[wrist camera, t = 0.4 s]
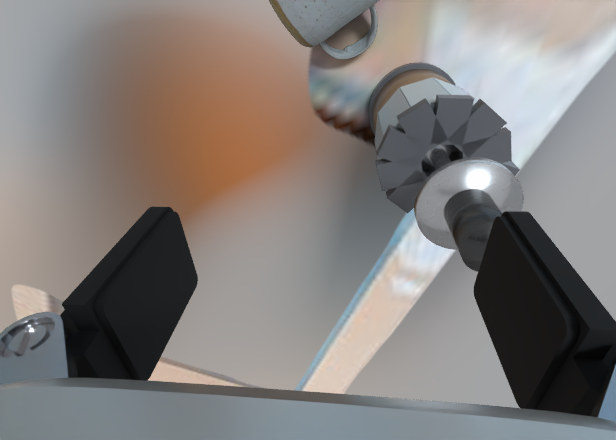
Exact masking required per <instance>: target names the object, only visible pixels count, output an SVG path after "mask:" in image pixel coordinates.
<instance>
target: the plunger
mask: <svg viewBox="0 0 616 440" xmlns="http://www.w3.org/2000/svg"><path fill="white" fill-rule="evenodd" d="M421 165H422V170H423V171H425V172H426V173H427V174H428V175H430V176H428V177H427V179H426V180H425V181H424V182H423V183H422V185H421V186H420V188H419V190H418V192H417V195H416V198H415V203H414V212H415V217H416V220H417V223H418V226H419V228H420V230H421V232H422V233H423V235H424V236H425V237H426V238H427V239H429V240H430V241H431V242H433V243H435V244H436V245H439V246H441V247H444V248H448V249H456V250H459V252H460V255H461V257H462V259H463V261H464V263H465V264H466V265H467V266H468V267H469V268H470V269H472V270H475V271H479V268H480V265H481V262H482V258H483V255H484V252H485V248H486V245H487V242H488V238H489V235H490V232H491V228H492V225H493V222H494V219H495V218H496V217H497V216H501V215H502V214H503V212H505V211H518V212H521V210H522V207H523V199H524V198H523V197H524V196H523V191H522V187H521V185H520V183H519V181H518V180H517V179H516V177H515V176H514V175H513V174H512V173H511V172H510V171H509V170H508V169H507V168H506V167H505V166H504V165H502V164H500V163H499V162H496V161H494V160H491V159H487V158H480V157H471V158H463V159H460V153H459V149H458V148H457V147H455V146H454V145H446V144H439V145H438V146H436V147H434V148H432V149H431V150H429V151H427V153H426V155H425V157H424V158H423V160H422V162H421Z"/></svg>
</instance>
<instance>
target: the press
mask: <svg viewBox="0 0 616 440" xmlns="http://www.w3.org/2000/svg"><path fill="white" fill-rule="evenodd" d="M369 121H370V126H371V128H372V131H373V133H374V135H375V147H376V153H377V158H378V160H376V166H377V171H378V175H379V179H380V183H381V187H382V191H385V190H388V191H387V192H386V195H387V198H388V199H389V200H390V201H392V202H393V203H395V204H396V205H397V206H399V207H400V208H401V209H403V210H404V211H406V212H407V213H408V212H410V211H411V210H412V209H413V208H414V203H415V198H416V195H417V192H418V190H419V188H420V186H421V185H422V183H423V182H424V181H425V180H426V179H427V177H428V176H430V175H428V174H427V173H426V172H425V171H423V170H422V165H421V162H422V160H423V158H424V157H425V155H426V153H427V151H429V150H431V149H432V148H434V147H436V146H438V145H439V144H446V145H454V146H455V147H457V148H458V149H459V153H460V159H463V158H471V157H480V158H487V159H491V160H494V161H496V162H499V163H500V164H502V165H504V166H505V167H506V168H507V169H508V170H509V171H510V172H511V173H512V174H513V175H514V176H515V175H516V174H517V172H518V171H519V170H520V169H519V168H518V167H517V166H516V165H515V164H514V163H513V162H512V160H511V132H510V131H509V130H508V129H507V128H506V127H505V128H502V127H503V126H504V125H505V124H506V122H505V121H504V120H503V119H502V118H501V117H500V116H499V115H498V114H497V113H495V112H494V111H493V110H492V109H491V108H490V107H489V106H488V105H487V104H486V103H485V102H483V101H482V100H481V99H479V100H478V101H477V100H476V99H475V98H474V97H472V96H471V95H470V94H469V93H467V92H466V91H465V90H464V89H462V88H460V87H458V86H456V85H455V83H454V82H453V80H452V79H451V78H450V76H449V75H447V74H446V73H445V72H444V71H443V70H441V69H440V68H438V67H436V66H434V65H431V64H427V63H410V64H406V65H403V66H400V67H398V68H396V69H394V70H393V71H391V72H390V73H388V74H387V75H386V76H385V77H384V78H383V79H382V80H381V81H380V82H379V84H378V85H377V86H376V88H375V90H374V92H373V94H372V96H371V99H370V103H369Z"/></svg>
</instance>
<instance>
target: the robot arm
mask: <svg viewBox="0 0 616 440" xmlns="http://www.w3.org/2000/svg"><path fill="white" fill-rule="evenodd" d="M197 281H198V278H197V274H196V270H195V267H194V264H193V260H192V257H191V254H190V250H189V247H188V244H187V241H186V237H185V234H184V231H183V228H182V224H181V221H180V218H179V215H178V213H177V212H173V210H172V209H171V208H170V207H150V208H149V209H148V210H147V211H146V212H145V213H144V214H143V215H142V216H141V217H140V218H139V220H138V221H137V222H136V223H135V224H134V225H133V226H132V227H131V228H130V229H129V231H128V232H127V233H126V234H125V235H124V236H123V237H122V238H121V239H120V241H119V242H118V243H117V244H116V245H115V246H114V247H113V248H112V249H111V250H110V251H109V253H108V254H107V255H106V256H105V257H104V258H103V259H102V260H101V261H100V262H99V264H98V265H97V266H96V267H95V268H94V269H93V270H92V271H91V272H90V274H89V275H88V276H87V277H86V278H85V279H84V280H83V281H82V282H81V283H80V285H79V286H78V287H77V288H76V289H75V290H74V291H73V292H72V293H71V294H70V296H69V297H68V298H67V299H66V300H65V301H64V302H63V303H62V305H63V307H64V309H65V310H64V311H63V313H62V314H61V315H58V314H56V313H53V312H41V313H36V314H33V315H29V316H27V317H24V318H22V319H20V320H18V321H16V322H15V323H13V324H12V325H10V326H9V327H7V328H6V329H5V330H4V331H3V332H1V333H0V440H616V321H615V320H614V319H613V318H612V316H611V315H610V314H609V313H608V311H607V310H606V309H605V308H604V306H603V305H602V304H601V302H600V301H599V300H598V299H597V297H595V295H594V294H593V292H592V291H591V290H590V289H589V287H588V286H587V285H586V283H585V282H584V281H583V280H582V278H581V277H580V276H579V275H578V273H577V272H576V271H575V270H574V269H573V267H572V266H571V264H570V263H569V262H568V261H567V259H566V258H565V257H564V256H563V255H562V253H561V252H560V251H559V249H558V248H557V247H556V246H555V244H554V243H553V242H552V240H551V239H550V238H549V237H548V236H547V234H546V233H545V232H544V230H543V229H542V228H541V227H540V225H539V224H538V223H537V222H536V220H535V219H534V218H533V216H532V215H531V214H530V213H529V212H518V211H505V212H503V214H502V215H501V216H497V217H496V218H495V219H494V222H493V225H492V228H491V232H490V235H489V238H488V242H487V245H486V248H485V252H484V255H483V258H482V262H481V265H480V268H479V271H478V275H477V278H476V282H475V285H474V296H475V299H476V302H477V305H478V307H479V310H480V312H481V315H482V317H483V320H484V322H485V325H486V327H487V330H488V332H489V334H490V337H491V339H492V342H493V345H494V347H495V349H496V352H497V355H498V357H499V359H500V362H501V364H502V367H503V370H504V372H505V375H506V377H507V379H508V382H509V385H510V387H511V389H512V392H513V395H514V397H515V399H516V402H517V404H518V406H519V407H520V408H510V407H500V406H489V405H478V404H466V403H452V402H440V401H427V400H413V399H401V398H387V397H375V396H360V395H348V394H334V393H320V392H306V391H292V390H278V389H264V388H250V387H236V386H221V385H205V384H190V383H175V382H160V381H147V380H148V379H149V378H150V376H151V374H152V372H153V370H154V368H155V366H156V364H157V362H158V361H159V359H160V357H161V355H162V353H163V351H164V349H165V347H166V345H167V343H168V341H169V339H170V337H171V335H172V333H173V331H174V329H175V327H176V325H177V323H178V321H179V320H180V317H181V316H182V314H183V312H184V310H185V308H186V306H187V304H188V302H189V300H190V298H191V296H192V294H193V292H194V290H195V288H196V286H197Z"/></svg>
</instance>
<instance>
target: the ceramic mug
mask: <svg viewBox="0 0 616 440" xmlns="http://www.w3.org/2000/svg"><path fill="white" fill-rule="evenodd" d="M269 1H270V3H271V5H272V7H273V9H274V11H275V12H276V14H277V15H278V17H279V18H280V20H281V21H282V23H283V24H284V26H285V27H286V28H287V30H288V31H289V32H290V33H291V35H292V36H293V37H294V38H295V39H296V40H297V41H298V42H299V43H300V44H302V45H303V46H306V47H313V46H316V45H318V44H320V46H321V47H322V48H323V50H324V51H325V52H326V53H327V54H328V55H330V56H332V57H334V58H336V59H350V58H353V57H356V56H358V55H359V54H361V53H363V52H364V51H365V50H366V49H368V48H369V47H370V45H371V44H372V43H373V41H374V38H375V36H376V32H377V27H378V20H377V13H376V9H375V6H374V4H375V3H377V2H378V1H379V0H269ZM368 8H370V12H371V27H370V30H369V32H368V33H367V34H366V36H365V37H364V38H362V39H361V40H359V41H357V42H356V43H354V44H353V45H351V46H347V47H346V48H345V49H344V50H339V49H335V48H332V47H331V46H330V45H328V44H327V43H326V42H325V40H326V39H328V38H329V37H330V36H332V35H333V34H334V33H335V32H337V31H338V30H339V29H340V28H342V27H343V26H344V25H346V24H347V23H349V22H350V21H351V20H353V19H354V18H356V17H357V16H358V15H360V14H361V13H363V12H364V11H365V10H367V9H368Z"/></svg>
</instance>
